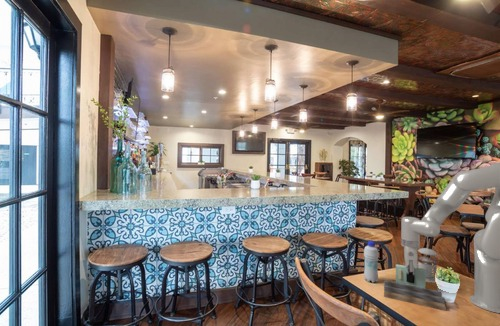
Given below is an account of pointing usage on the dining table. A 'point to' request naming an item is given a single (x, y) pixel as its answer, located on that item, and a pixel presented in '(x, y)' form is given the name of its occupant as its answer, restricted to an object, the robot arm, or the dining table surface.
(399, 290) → the bottom track
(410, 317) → the dining table surface
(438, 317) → the dining table surface
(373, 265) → the bottle
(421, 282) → the door panel
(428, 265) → the french press
